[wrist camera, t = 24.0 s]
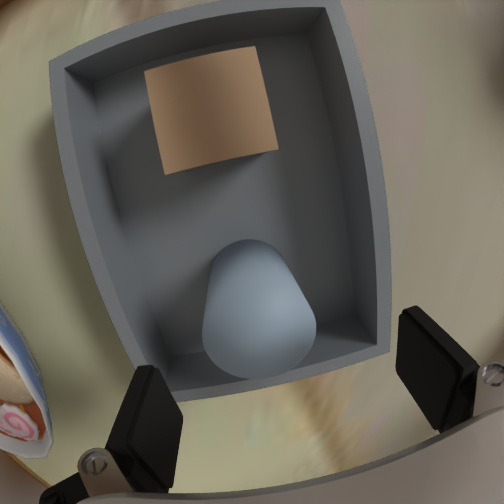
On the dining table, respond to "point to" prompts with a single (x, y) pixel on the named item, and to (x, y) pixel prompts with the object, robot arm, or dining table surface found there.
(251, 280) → the pale blue tapered lump
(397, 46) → the dining table surface
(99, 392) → the dining table surface
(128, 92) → the tote
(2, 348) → the ramen bowl
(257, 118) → the walnut cube
